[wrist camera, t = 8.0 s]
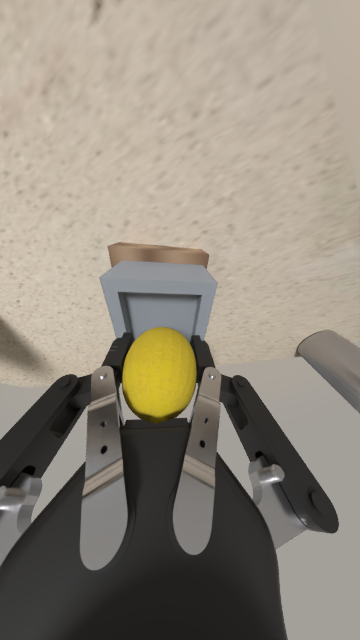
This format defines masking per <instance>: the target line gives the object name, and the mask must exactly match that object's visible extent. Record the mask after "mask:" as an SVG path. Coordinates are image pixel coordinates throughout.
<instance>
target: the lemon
mask: <svg viewBox="0 0 360 640" xmlns="http://www.w3.org/2000/svg"><path fill="white" fill-rule="evenodd" d="M196 375H197V372H196V359H195V355H194V352H193V350H192V348H191V345H190V343H189V342H188V340H187V339H186V338H185V337H184V336H183V335H182V334H181V333H180V332H178V331H176V330H174V329H171V328H168V327H156V328H152V329H149V330H147V331H145V332H144V333H142V334H141V335H140V336H139V337H138V338H137V339H136V340H135V341H134V342H133V344H132V346H131V347H130V349H129V351H128V353H127V356H126V358H125V362H124V367H123V377H122V389H123V395H124V398H125V401H126V403H127V405H128V407H129V408H130V409H131V410H132V412H133V413H134V414H135V415H137V416H138V417H139V418H140V419H142V420H145V421H149V422H152V423H156V424H158V423H161V422H164V421H167V420H170V419H172V418H175V417H177V416H178V415H179V414H181V412H183V411H184V409H185V408H186V407H187V406H188V404H189V403H190V401H191V399H192V396H193V394H194V391H195V387H196Z"/></svg>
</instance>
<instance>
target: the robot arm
mask: <svg viewBox="0 0 360 640" xmlns="http://www.w3.org/2000/svg"><path fill="white" fill-rule="evenodd" d="M133 342H134V337H133V333H130V332H124V333H123V336H122V338H117V339H116V340H115V341H114V342H113V343H112V345H111V347H110V350H109V352H108V354H107V356H106V358H105V360H104V362H103V364H102V366H101V367H100V368H98V369H96V370H95V371H94V372H93V374H90V375H87V376H83V377H79V378H78V377H77V376H76V375H73V374H69V375H65V376H63V377H61V378H59V379H58V380H57V381H56V382H55V383H54V384H53V385H52V386H51V387H50V388H49V389H48V390H47V391H46V392H45V393H44V394H43V395H42V396H41V397H40V399H38V401H37V402H36V403H35V404H34V405H33V406H32V407H31V408H30V409H29V410H28V411H27V412H26V413H25V414H24V415H23V416H22V418H21V419H20V420H19V421H18V422H17V423H16V424H15V425H14V426H13V427H12V428H11V429H10V430H9V431H8V432H7V433H6V435H5V436H4V437H3V438H2V439H1V440H0V640H288V639H287V634H286V629H285V624H284V618H283V611H282V605H281V596H280V584H279V569H278V561H277V555H276V549H277V548H279V547H280V546H282V545H283V544H285V543H286V542H288V541H289V540H291V539H293V538H294V537H296V536H297V535H298V534H300V533H302V532H303V531H305V530H310V531H317V532H325V533H335V532H337V530H338V527H339V522H338V517H337V514H336V511H335V509H334V506H333V505H332V503H331V501H330V499H329V498H328V496H327V495H326V493H325V492H324V491H323V489H322V488H321V486H320V485H319V483H318V482H317V480H316V479H315V477H314V476H313V474H312V473H311V472H310V470H309V469H308V468H307V466H306V464H305V463H304V461H303V460H302V458H301V457H300V456H299V454H298V453H297V451H296V450H295V448H294V447H293V446H292V444H291V442H290V441H289V440H288V438H287V437H286V436H285V434H284V432H283V431H282V429H281V428H280V426H279V425H278V424H277V422H276V421H275V419H274V418H273V416H272V415H271V413H270V412H269V410H268V409H267V408H266V406H265V405H264V403H263V402H262V400H261V399H260V398H259V396H258V394H257V393H256V392H255V390H254V389H253V387H252V386H251V384H250V383H249V382H248V380H247V379H246V378H244V377H242V376H240V375H236V376H234V377H233V378H231V377H228V376H224V375H222V374H220V372H219V371H218V370H217V369H216V368H215V365H214V362H213V359H212V356H211V352H210V350H209V346H208V344H207V343H206V342H205V341H201V338H200V335H192V336H191V341H190V345H191V348H192V350H193V352H194V355H195V359H196V372H197V375H196V383H198V390H197V394H196V398H195V402H194V406H193V410H192V414H191V417H190V420H189V422H187V418H172V419H170V420H167V421H164V422H161V423H158V424H156V423H152V422H149V421H145V420H142V419H141V420H126V422H125V424H124V418H123V414H122V407H121V400H120V393H119V386H120V383H122V377H123V367H124V362H125V358H126V356H127V353H128V351H129V349H130V347H131V346H132V344H133ZM298 353H299V354H300V355H301V356H302V357H303V358H304V359H305V360H306V361H307V362H308V363H309V364H310V365H311V366H312V367H313V368H314V369H315V370H316V371H317V372H318V373H319V374H320V375H321V376H322V377H323V378H324V379H325V380H326V381H327V382H328V383H329V384H330V385H331V386H332V387H333V388H334V389H335V390H336V391H337V392H338V393H339V394H340V395H341V396H342V397H343V398H344V399H345V400H346V401H347V402H348V403H350V405H351V406H352V407H353V408H354V409H355V410H357V411H358V412H359V413H360V348H359V347H357V346H356V345H354V344H353V343H351V342H350V341H348V340H347V339H345V338H344V337H342V336H340V335H339V334H337V333H336V332H334V331H329V330H328V331H322V332H318V333H316V334H314V335H312V336H310V337H308V338H307V339H305V340H304V341H303V342H302V343H301V344H300V345H299V347H298ZM219 402H222V403H223V404H224V406H225V408H226V411H227V413H228V415H229V417H230V419H231V421H232V423H233V426H234V428H235V430H236V432H237V434H238V436H239V438H240V441H241V443H242V445H243V447H244V449H245V451H246V453H247V456H248V458H249V460H250V464H249V469H248V472H249V477H250V480H251V483H252V487H253V499H251V497H250V496H249V495H248V493H247V492H246V490H245V489H244V488H243V487H242V485H241V484H240V482H239V481H238V480H237V478H236V477H235V476H234V474H233V473H232V471H231V470H230V469H229V467H228V466H227V465H226V463H225V462H224V461H223V459H222V458H221V457H220V455H219V454H218V452H217V440H218V428H219V417H220V403H219ZM90 404H91V405H90ZM87 405H90V406H89V407H88V413H87V442H86V461H85V462H84V463H83V464H82V466H81V467H80V468H79V469H78V470H77V471H76V473H75V474H74V475H73V476H72V477H71V478H70V480H69V481H68V482H67V483H66V484H65V485H64V486H63V488H62V489H61V490H60V491H59V492H58V493H57V494H56V496H55V497H54V498H53V499H52V500H51V501H50V503H49V504H48V505H47V506H46V507H45V508H44V510H43V511H42V512H41V513H40V514H39V515H38V516H37V518H36V519H35V520H34V521H33V522H32V523H31V516H32V511H33V508H34V506H35V504H36V502H37V500H38V498H39V496H40V493H41V490H42V481H41V477H42V476H43V474H44V472H45V471H46V469H47V467H48V466H49V465H50V463H51V461H52V460H53V458H54V456H55V455H56V454H57V452H58V450H59V449H60V447H61V446H62V444H63V443H64V441H65V439H66V438H67V436H68V434H69V433H70V431H71V430H72V428H73V426H74V425H75V424H76V422H77V420H78V419H79V417H80V416H81V414H82V412H83V411H84V409H85V408H86V406H87Z"/></svg>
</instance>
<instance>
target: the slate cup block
mask: <svg viewBox="0 0 360 640" xmlns="http://www.w3.org/2000/svg"><path fill="white" fill-rule="evenodd" d="M99 278H100V282H101V286H102V289H103V293H104V296H105V300H106V303H107V307H108V310H109V314H110V317H111V321H112V324H113V328H114V332H115V335H116V339H117V338H122V336H123V333H124V332H130V333H133V337H134V341H135V340H136V339H137V338H138V337H139V336H140V335H141V334H142V333H144V332H145V331H147V330H149V329H152V328H156V327H168V328H171V329H174V330H176V331H178V332H180V333H181V334H182V335H183V336H184V337H185V338H186V339H187V340H188V342H189V343H190V341H191V336H192V335H200V338H201V341H204V338H205V333H206V329H207V325H208V321H209V317H210V313H211V308H212V304H213V300H214V296H215V292H216V288H217V284H218V283H217V282H216V280H215V279H214V278H213V277H212V276H211V274H210V273H209V272H208V271H207V270H206V268H205V267H204V266H203V265H194V264H177V263H160V262H143V261H126V260H122V261H120V262H119V263H118V264H116V265H115V266H114V267H112V268H111V269H110V270H108V271H107V272H106V273H104V274H103V275H102V276H100V277H99Z"/></svg>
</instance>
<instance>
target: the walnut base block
mask: <svg viewBox="0 0 360 640" xmlns="http://www.w3.org/2000/svg"><path fill="white" fill-rule="evenodd" d="M108 250H109V256H110V261H111V266H112V267H114V266H115V265H116V264H118V263H119V262H120V261H122V260H126V261H143V262H160V263H177V264H194V265H203V266H204V267H205V268H206V269H207V264H208V259H209V254H207V253H206V252H205V251H203V250H201V249H190V248H179V247H168V246H157V245H145V244H134V243H123V242H119V243H116V244H113V245H110V246H108Z"/></svg>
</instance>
